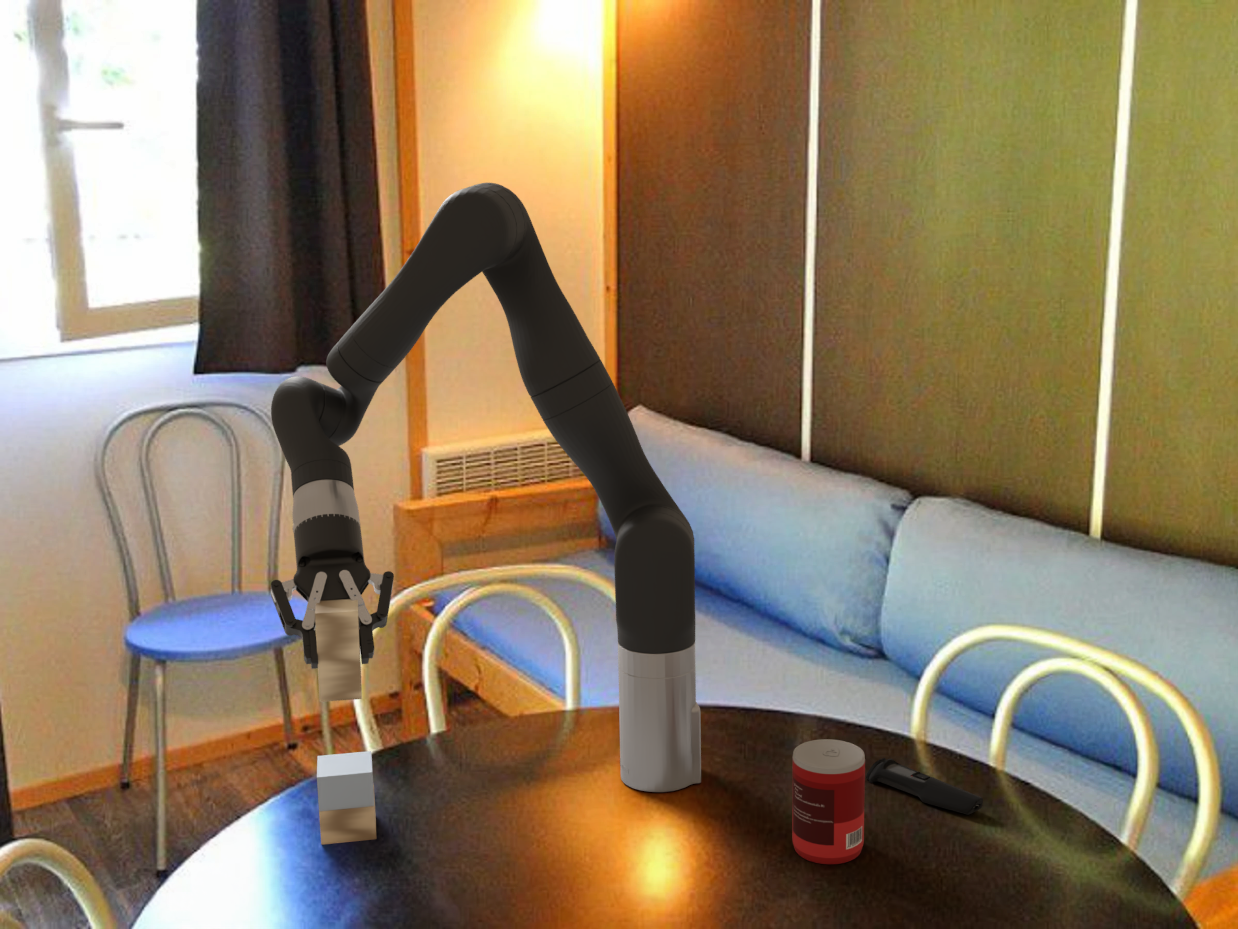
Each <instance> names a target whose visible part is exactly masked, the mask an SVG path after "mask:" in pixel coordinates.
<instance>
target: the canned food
mask: <svg viewBox="0 0 1238 929" xmlns="http://www.w3.org/2000/svg"><path fill="white" fill-rule="evenodd" d="M791 770H792V774H791V777H792V779H791V780H792V783H791V784H792V785H791V788H792V790H791V793H792V794H791V795H792V796H791V797H792V798H791V800H792V803H791V804H792V807H791V809H792V812H791V813H792V814H791V815H792V820H791V822H792V823H791V824H792V826H791V827H792V829H791V830H792V831H791V832H792V834H791V835H792V838H791V839H792V845H793V848H794V850H795V852H796V854H798V856H800V857H801V858H802V859H804V860H807V861H809V862H811V863H815V864H821V865H840V864H845V863H848V862H851V861H853V860H855V859H856V858H858V857H859V856H860V854H862V850H863V846H864V844H865V843H864V842H865V798H866V797H865V796H866V794H865V793H866V791H865V789H866V788H865V787H866V759H865V752H864V750H863V749H862V748H861V747H860V746H858V745H856V744H855V743H854V744H853V743H852V742H848V741H844V740H839V739H834V738H833V739H829V738H828V739H827V738H825V739H824V738H823V739H814V740H809V741H805V742H803V743H801V744H799V745H797V746H796V747H795V748H794V749H793V752H792V768H791Z"/></svg>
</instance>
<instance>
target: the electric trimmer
mask: <svg viewBox="0 0 1238 929" xmlns="http://www.w3.org/2000/svg"><path fill="white" fill-rule="evenodd" d="M865 780H868V783H871V784H873V783H876V782H878V783H881V784H884V785H886V786H888V787H889V786H890V787H892V788H894V789H897V790H901V791H903V792H905V793H908V794H910V795H913V796H915V797H918V798H919V799H920V801H921V802H922V803H925V804H928V805H931V806H934V807H938V808H941V809H945V810H949V811H952V812H957V813H960V814H962V815H963V814H965V815H971V814H973V813H975V812H978V811H980V809H982V807H983V804H984V799H983V797H981V796H979V795H977V794H974V793H972V792H969V791H967V790H964V789H962V788H960V787H957V786H954V785H952V784H949V783H947V782H945V781H943V780H940V779H938V778H936V777H933V776H930V775H928V774H925V773H923V772H920V771H918V770H915V769H913V768H910V767H907V766H905V765H902V764H901V763H899V762H897V761H896V760H894V759H893V758H887V759H886V758H885V757H883V758H879V759H877V760H876V761H875V762H874V763H873V764H872V765H871V767H870V768H869V770H868V771H867V772H866V774H865Z"/></svg>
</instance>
